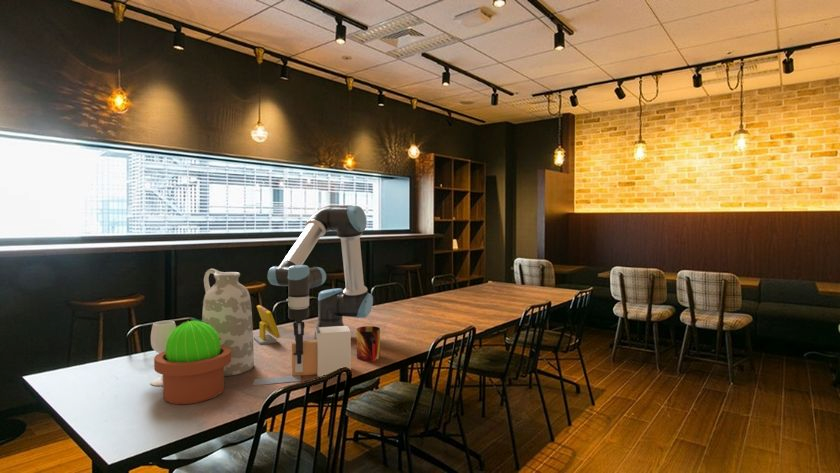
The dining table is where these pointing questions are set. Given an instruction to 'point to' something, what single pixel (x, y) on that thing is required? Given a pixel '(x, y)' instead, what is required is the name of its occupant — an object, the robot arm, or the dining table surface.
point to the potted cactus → (192, 363)
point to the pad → (277, 380)
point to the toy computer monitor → (267, 327)
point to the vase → (230, 318)
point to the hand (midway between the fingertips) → (298, 369)
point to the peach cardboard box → (306, 358)
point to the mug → (368, 343)
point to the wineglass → (160, 341)
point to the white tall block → (333, 348)
